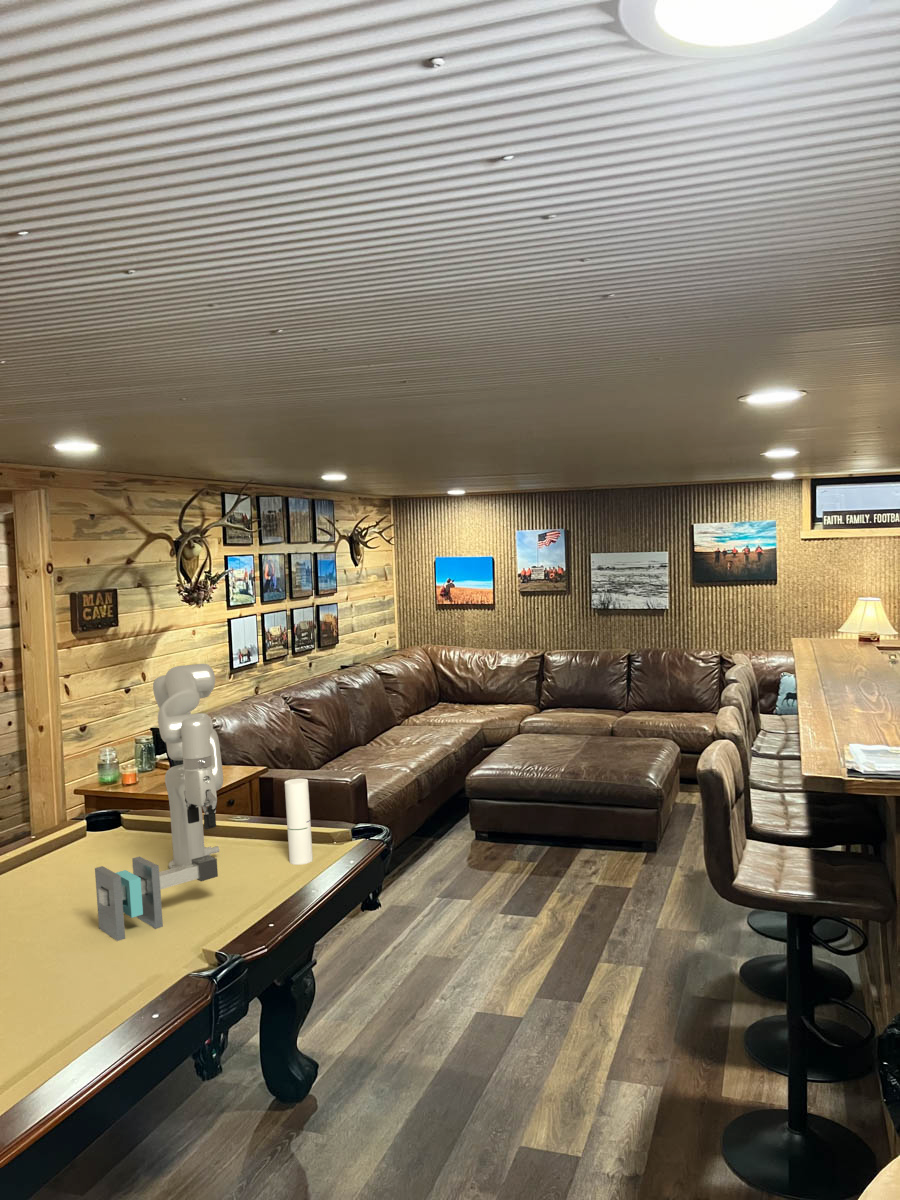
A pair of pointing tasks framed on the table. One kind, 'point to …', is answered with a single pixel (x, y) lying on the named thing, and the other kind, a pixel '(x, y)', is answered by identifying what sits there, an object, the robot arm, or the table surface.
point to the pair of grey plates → (113, 913)
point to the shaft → (174, 876)
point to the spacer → (132, 894)
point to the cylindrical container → (298, 821)
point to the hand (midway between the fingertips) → (201, 825)
